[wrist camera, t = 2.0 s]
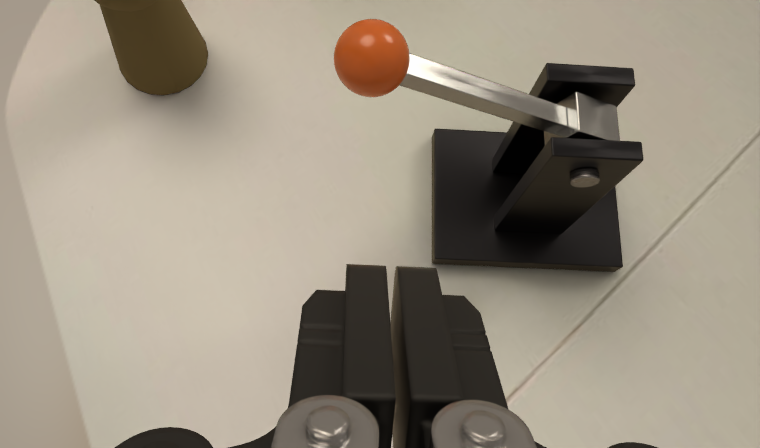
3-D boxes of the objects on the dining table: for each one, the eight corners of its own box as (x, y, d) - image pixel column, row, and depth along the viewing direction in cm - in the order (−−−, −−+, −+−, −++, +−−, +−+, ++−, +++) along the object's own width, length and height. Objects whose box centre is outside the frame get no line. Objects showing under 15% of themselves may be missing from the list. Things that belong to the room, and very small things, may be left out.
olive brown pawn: (118, 21, 45) (54, -103, 35) (206, 16, 46) (169, -107, 36) (118, 98, 44) (51, -9, 33) (209, 91, 44) (171, -16, 34)
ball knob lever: (319, 98, 28) (353, 62, 25) (323, 33, 29) (356, -7, 26) (579, 173, 34) (628, 151, 32) (575, 118, 35) (622, 93, 33)
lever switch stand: (431, 264, 41) (472, 191, 29) (431, 136, 44) (468, 22, 32) (615, 272, 42) (728, 204, 30) (603, 146, 45) (703, 38, 33)
